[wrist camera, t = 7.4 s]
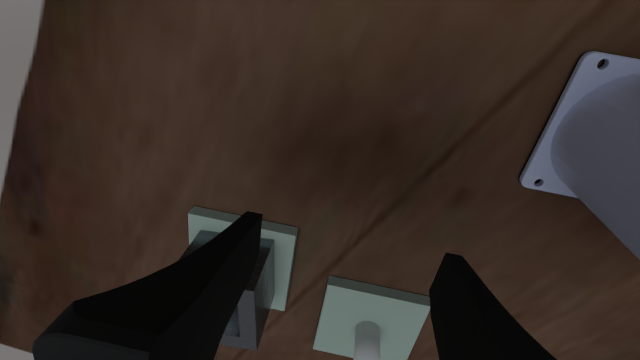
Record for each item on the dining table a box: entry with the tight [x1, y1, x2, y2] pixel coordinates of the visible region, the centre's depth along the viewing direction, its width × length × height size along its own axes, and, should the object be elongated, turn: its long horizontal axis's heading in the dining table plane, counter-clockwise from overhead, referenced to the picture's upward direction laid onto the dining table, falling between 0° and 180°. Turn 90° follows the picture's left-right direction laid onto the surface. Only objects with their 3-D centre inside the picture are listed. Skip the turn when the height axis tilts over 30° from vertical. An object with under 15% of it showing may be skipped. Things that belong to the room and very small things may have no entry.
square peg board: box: [313, 275, 430, 360], centre depth 27 cm, size 8×8×4 cm
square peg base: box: [188, 206, 298, 311], centre depth 26 cm, size 8×8×4 cm
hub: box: [178, 230, 275, 350], centre depth 25 cm, size 6×6×5 cm
